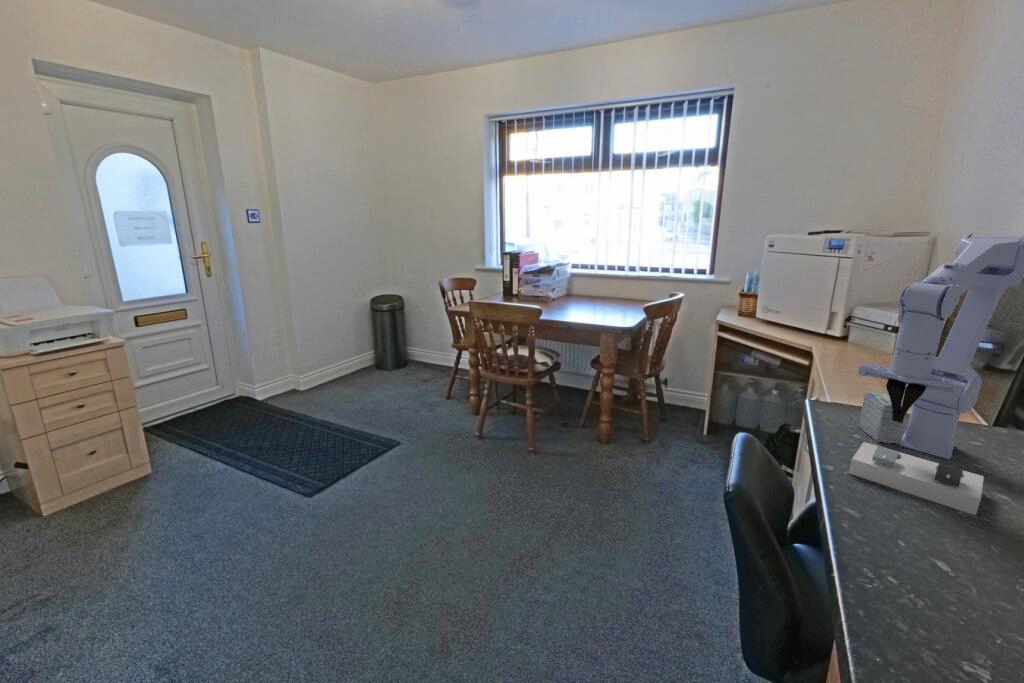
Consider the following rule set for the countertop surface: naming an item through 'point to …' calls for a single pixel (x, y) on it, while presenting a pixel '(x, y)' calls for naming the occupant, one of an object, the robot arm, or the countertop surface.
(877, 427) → the medicine box
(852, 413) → the countertop surface
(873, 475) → the switch panel
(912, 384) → the robot arm
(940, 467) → the block
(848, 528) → the countertop surface
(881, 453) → the block
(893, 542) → the countertop surface
